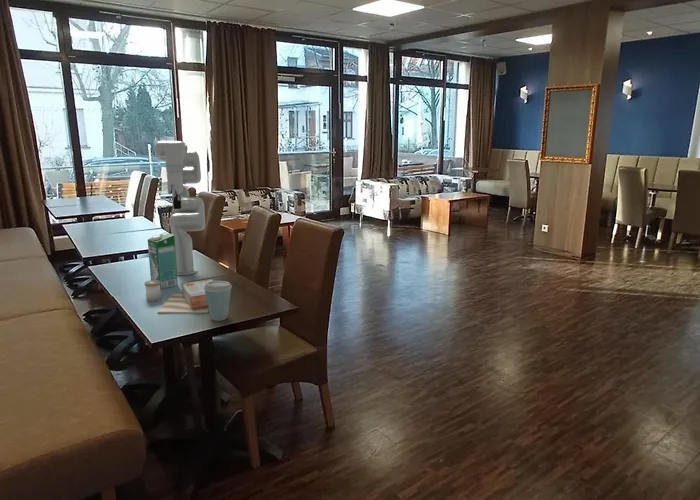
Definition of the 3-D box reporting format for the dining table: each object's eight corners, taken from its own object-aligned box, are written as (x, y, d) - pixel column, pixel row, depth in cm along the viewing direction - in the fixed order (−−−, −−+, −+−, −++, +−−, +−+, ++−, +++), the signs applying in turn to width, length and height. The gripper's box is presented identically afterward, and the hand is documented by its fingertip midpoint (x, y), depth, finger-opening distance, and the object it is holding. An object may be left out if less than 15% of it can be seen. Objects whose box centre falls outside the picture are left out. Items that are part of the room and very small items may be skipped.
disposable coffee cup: (215, 312, 203) (213, 277, 200) (238, 315, 200) (236, 280, 197) (200, 321, 194) (198, 284, 190) (224, 324, 191) (222, 287, 187)
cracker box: (182, 295, 222) (191, 309, 204) (181, 282, 221) (190, 295, 203) (213, 290, 228) (225, 304, 211) (212, 278, 227) (224, 290, 209)
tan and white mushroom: (148, 296, 221) (147, 280, 219) (163, 296, 221) (162, 280, 219) (143, 301, 214) (142, 284, 212) (159, 301, 215) (157, 284, 213)
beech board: (173, 295, 223) (173, 293, 223) (217, 294, 225) (217, 293, 224) (157, 313, 201) (157, 312, 201) (207, 312, 202) (207, 311, 202)
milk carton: (151, 285, 237) (146, 234, 231) (168, 281, 243) (165, 231, 237) (160, 289, 231) (156, 237, 225) (178, 285, 237) (174, 234, 231)
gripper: (171, 168, 233) (173, 206, 238) (161, 170, 219) (164, 211, 223) (187, 168, 234) (189, 206, 238) (178, 170, 220) (181, 211, 224)
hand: (177, 208), depth 231 cm, fingers closed
